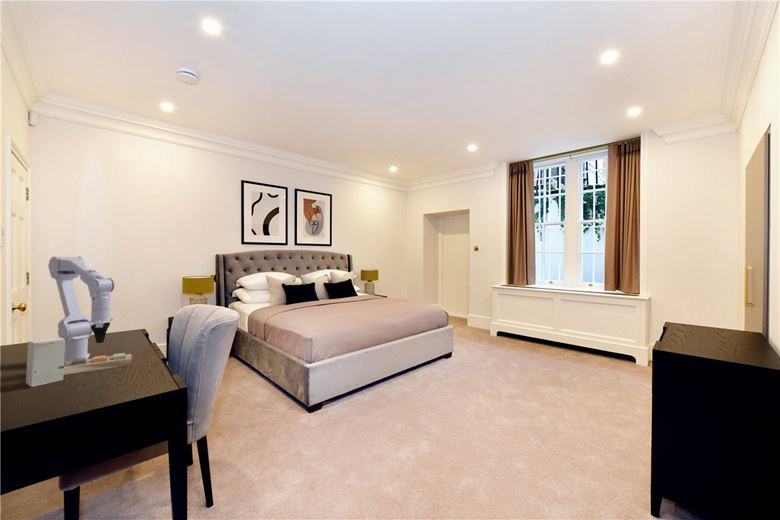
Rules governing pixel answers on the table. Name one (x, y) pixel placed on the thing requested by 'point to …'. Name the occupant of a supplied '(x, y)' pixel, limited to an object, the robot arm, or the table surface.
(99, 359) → the key terracotta
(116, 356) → the key sage
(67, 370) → the keypad
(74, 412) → the table surface
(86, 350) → the robot arm
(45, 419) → the table surface
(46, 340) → the skincare box
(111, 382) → the table surface
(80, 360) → the key charcoal
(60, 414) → the table surface
